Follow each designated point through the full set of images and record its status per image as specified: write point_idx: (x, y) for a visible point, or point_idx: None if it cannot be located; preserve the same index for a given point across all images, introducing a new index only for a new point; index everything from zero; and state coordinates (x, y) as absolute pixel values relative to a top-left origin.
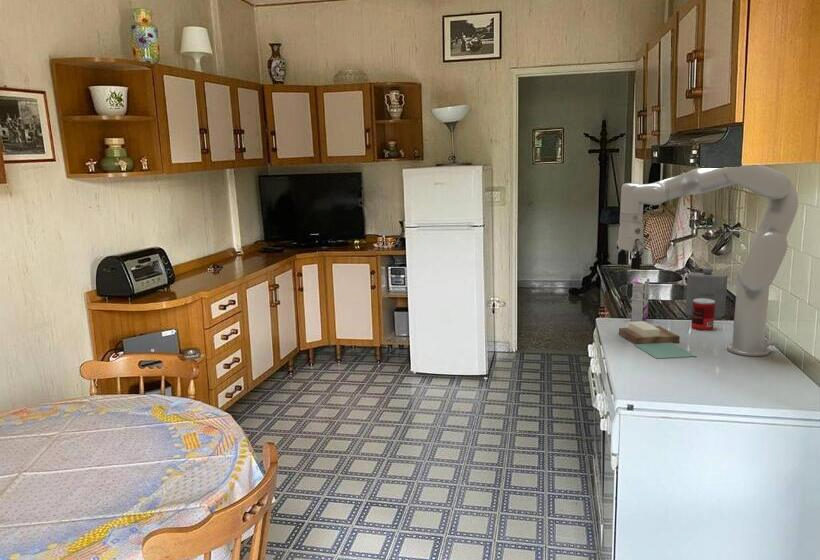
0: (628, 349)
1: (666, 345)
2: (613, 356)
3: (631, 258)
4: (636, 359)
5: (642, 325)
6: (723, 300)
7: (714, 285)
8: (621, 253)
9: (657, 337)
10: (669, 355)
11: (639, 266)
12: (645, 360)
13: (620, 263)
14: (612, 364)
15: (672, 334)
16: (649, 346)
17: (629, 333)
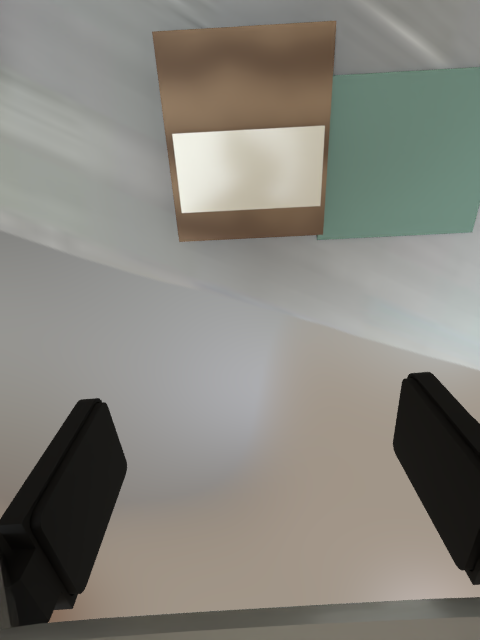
0: (354, 273)
1: (358, 121)
2: (402, 337)
3: (469, 571)
4: (449, 290)
5: (248, 177)
6: None
7: None
8: (53, 588)
9: (328, 144)
10: (466, 174)
11: (440, 392)
12: (467, 269)
13: (120, 460)
14: (459, 362)
15: (304, 45)
16: (353, 196)
17: (258, 234)
